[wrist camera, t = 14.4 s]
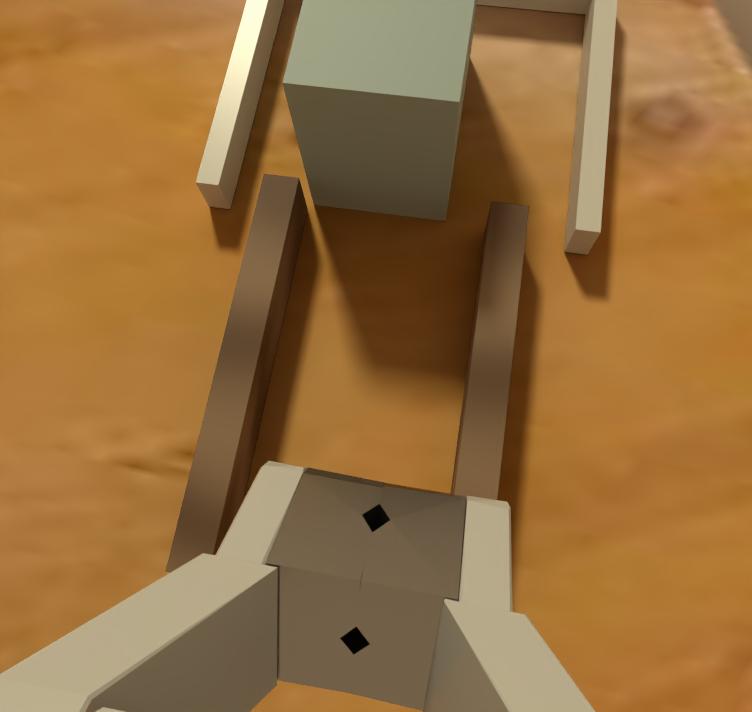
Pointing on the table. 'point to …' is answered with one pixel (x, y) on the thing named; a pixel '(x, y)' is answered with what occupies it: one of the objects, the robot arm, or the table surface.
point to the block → (380, 101)
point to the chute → (258, 349)
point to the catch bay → (594, 3)
